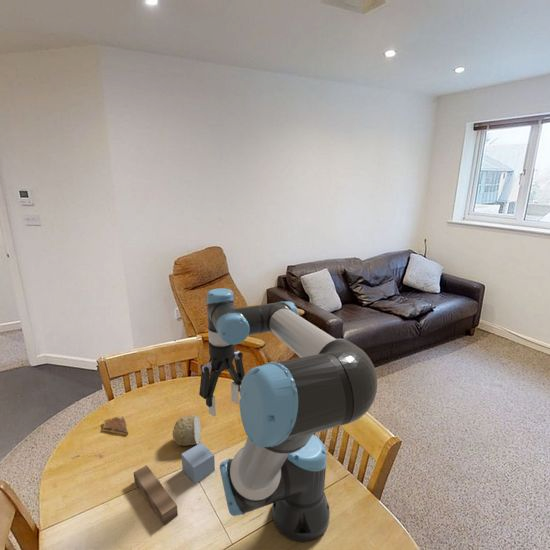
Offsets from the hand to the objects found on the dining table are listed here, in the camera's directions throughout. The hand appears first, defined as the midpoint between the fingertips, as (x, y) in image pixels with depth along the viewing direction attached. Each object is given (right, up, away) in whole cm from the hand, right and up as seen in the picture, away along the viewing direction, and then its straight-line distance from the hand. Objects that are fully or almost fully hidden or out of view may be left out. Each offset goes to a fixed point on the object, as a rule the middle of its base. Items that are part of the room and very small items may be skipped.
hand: (223, 407), depth 110 cm
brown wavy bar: (-18, -21, -11) cm, 30 cm away
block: (-7, -19, -2) cm, 20 cm away
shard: (-39, -13, +17) cm, 45 cm away
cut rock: (-14, -15, +10) cm, 23 cm away
